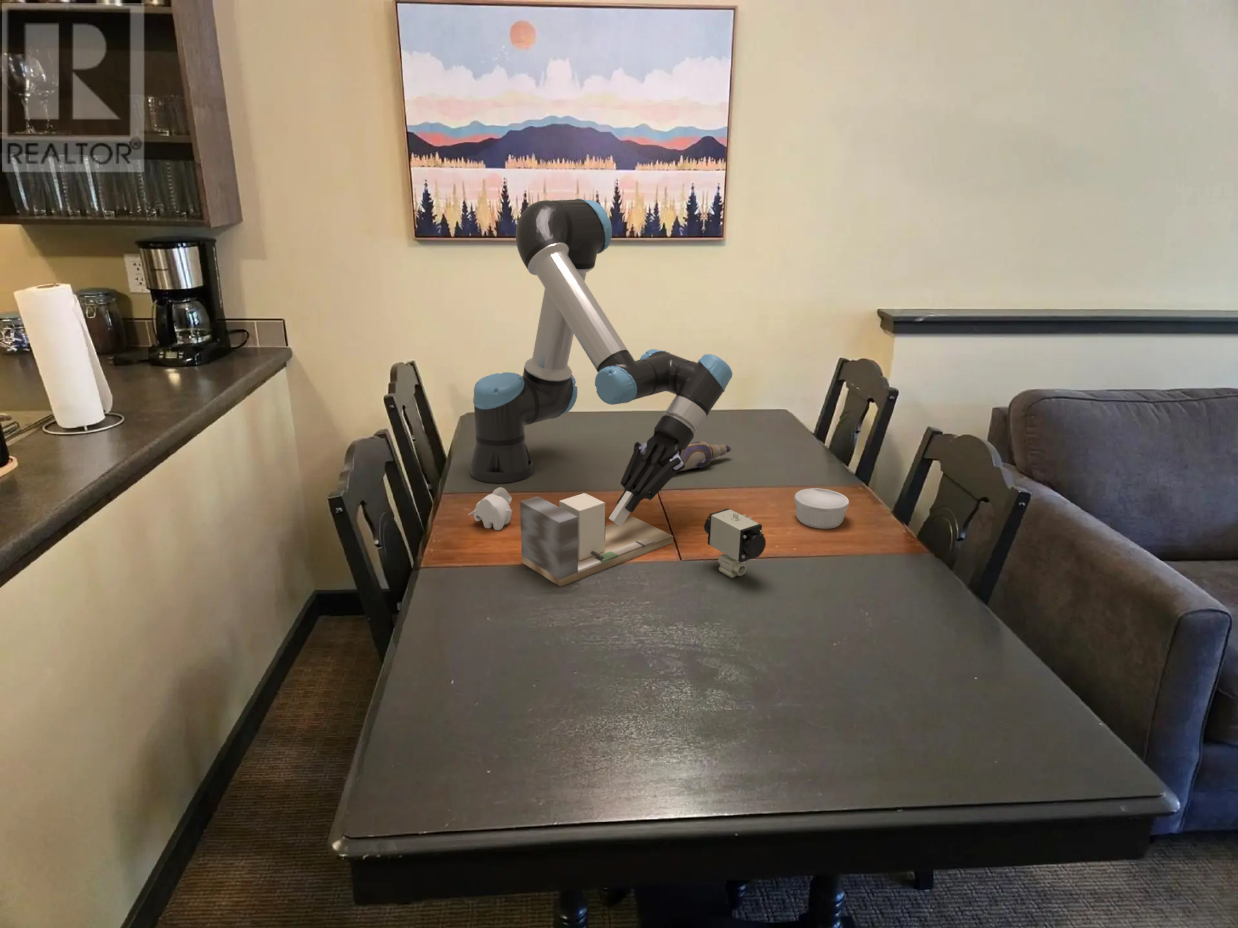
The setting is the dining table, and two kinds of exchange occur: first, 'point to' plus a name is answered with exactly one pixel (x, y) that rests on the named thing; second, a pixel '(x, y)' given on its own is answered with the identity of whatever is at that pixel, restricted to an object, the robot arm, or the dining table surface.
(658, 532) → the board
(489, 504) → the elephant figurine
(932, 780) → the dining table surface
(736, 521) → the pneumatic valve
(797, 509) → the ramekin
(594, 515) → the block
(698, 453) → the decorative bottle
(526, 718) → the dining table surface
